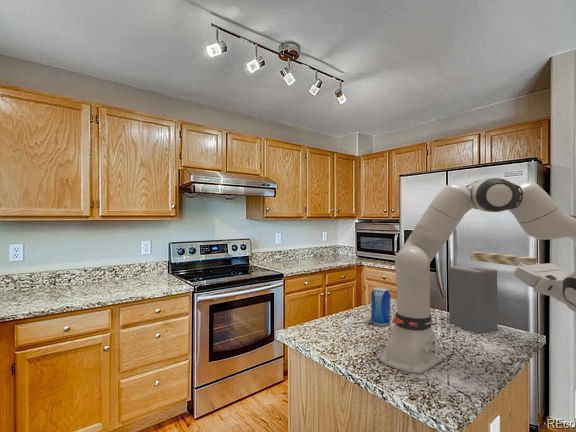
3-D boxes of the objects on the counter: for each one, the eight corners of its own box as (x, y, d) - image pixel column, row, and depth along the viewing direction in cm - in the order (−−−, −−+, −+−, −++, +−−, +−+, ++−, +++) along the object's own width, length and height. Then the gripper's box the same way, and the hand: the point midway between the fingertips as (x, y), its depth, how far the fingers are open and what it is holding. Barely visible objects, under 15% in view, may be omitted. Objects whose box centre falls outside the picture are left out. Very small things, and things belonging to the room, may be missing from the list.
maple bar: (536, 267, 114) (536, 258, 114) (529, 267, 113) (529, 258, 113) (477, 259, 137) (476, 251, 137) (470, 259, 135) (470, 252, 135)
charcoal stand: (497, 330, 132) (497, 270, 132) (477, 333, 128) (477, 271, 128) (468, 320, 145) (468, 265, 145) (449, 323, 141) (449, 266, 141)
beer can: (374, 319, 146) (373, 286, 146) (392, 322, 142) (392, 288, 142) (369, 324, 139) (369, 289, 139) (388, 328, 135) (387, 291, 135)
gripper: (581, 275, 108) (542, 252, 119) (543, 279, 101) (506, 254, 112) (570, 288, 111) (534, 265, 122) (533, 293, 104) (498, 268, 115)
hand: (520, 260), depth 117 cm, fingers closed on maple bar, 4 cm apart
